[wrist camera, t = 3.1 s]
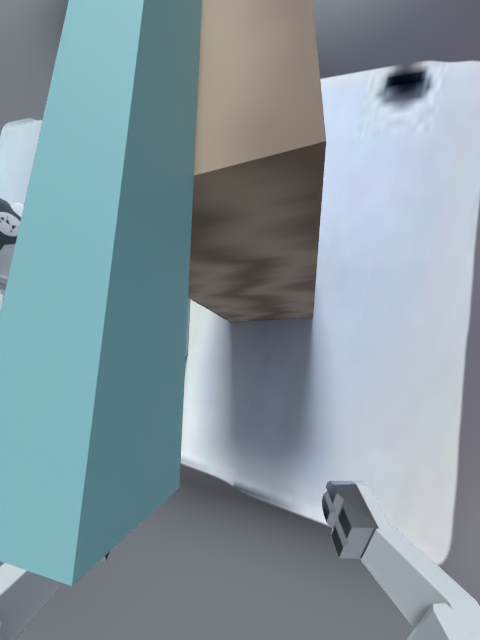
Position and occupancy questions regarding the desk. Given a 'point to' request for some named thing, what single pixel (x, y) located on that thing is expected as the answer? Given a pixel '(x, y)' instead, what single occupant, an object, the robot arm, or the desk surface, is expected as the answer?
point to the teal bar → (100, 289)
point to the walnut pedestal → (257, 161)
